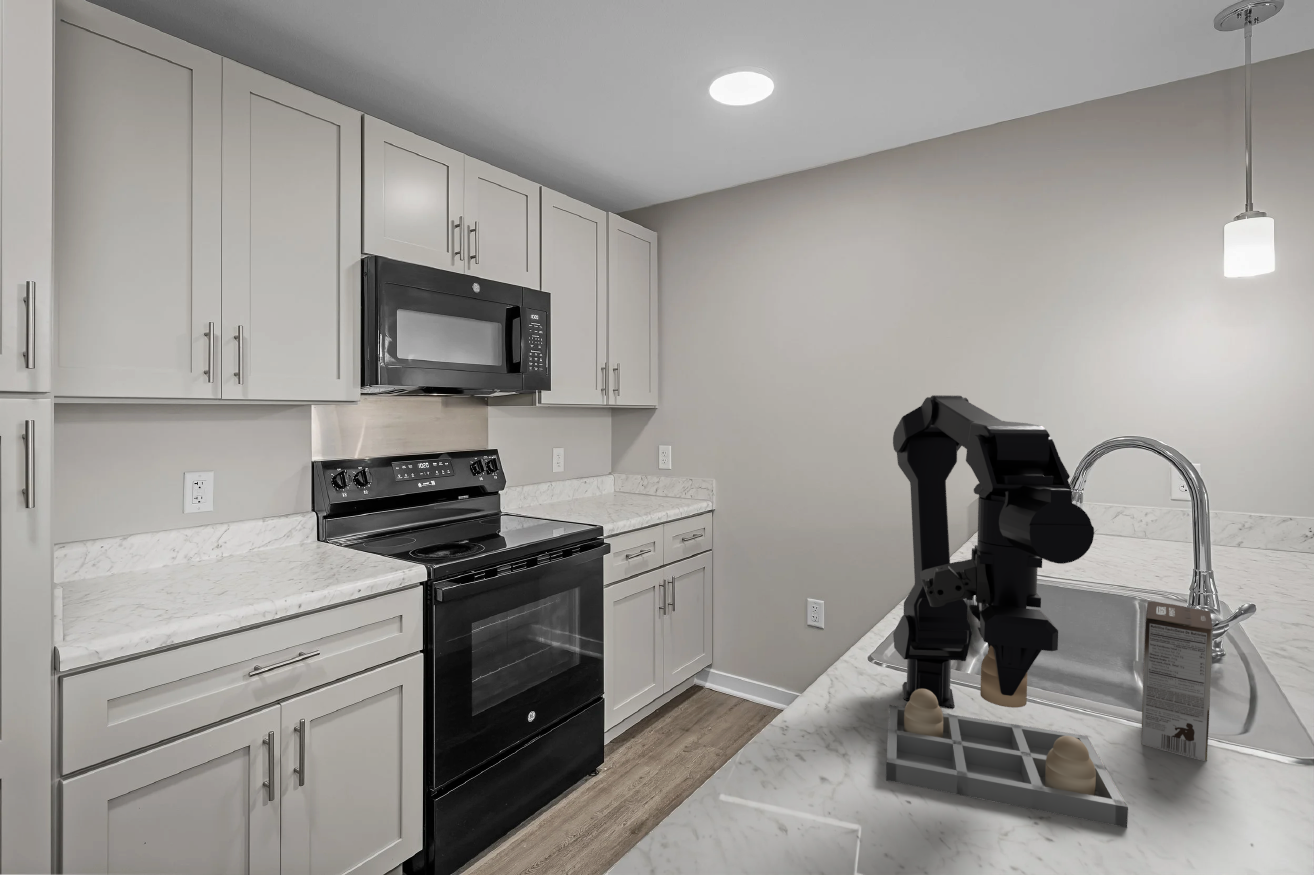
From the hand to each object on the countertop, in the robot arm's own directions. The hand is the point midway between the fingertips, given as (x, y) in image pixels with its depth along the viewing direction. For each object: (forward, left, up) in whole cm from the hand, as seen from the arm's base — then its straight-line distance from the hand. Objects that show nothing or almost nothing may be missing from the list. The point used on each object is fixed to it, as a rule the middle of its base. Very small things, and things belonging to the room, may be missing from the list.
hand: (1003, 685), depth 70 cm
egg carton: (-3, -1, -11) cm, 11 cm away
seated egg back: (-7, -8, -11) cm, 15 cm away
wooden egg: (0, 0, -1) cm, 1 cm away
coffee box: (-19, +21, -11) cm, 31 cm away
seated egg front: (0, +6, -11) cm, 12 cm away
